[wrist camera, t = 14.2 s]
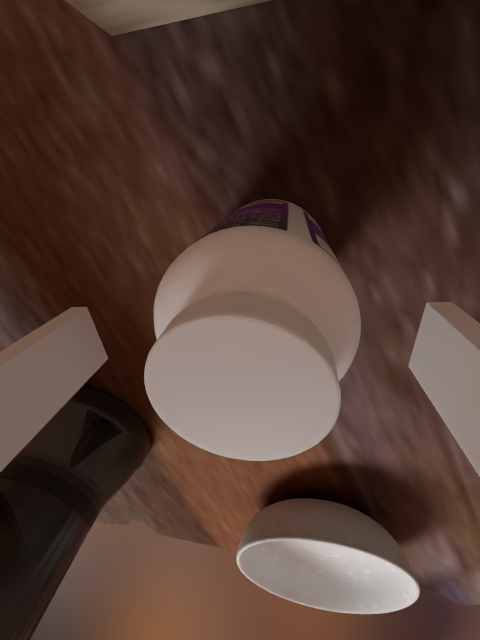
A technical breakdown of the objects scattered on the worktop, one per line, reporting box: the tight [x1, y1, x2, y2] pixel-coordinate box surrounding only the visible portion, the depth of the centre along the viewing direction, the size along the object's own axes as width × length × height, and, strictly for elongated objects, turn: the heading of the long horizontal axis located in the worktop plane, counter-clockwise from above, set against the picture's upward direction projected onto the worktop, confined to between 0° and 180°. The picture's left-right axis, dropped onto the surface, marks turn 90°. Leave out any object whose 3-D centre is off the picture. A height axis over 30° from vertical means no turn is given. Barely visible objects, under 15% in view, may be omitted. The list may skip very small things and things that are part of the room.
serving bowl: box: [237, 498, 420, 614], centre depth 34 cm, size 21×21×7 cm
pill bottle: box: [144, 199, 361, 461], centre depth 13 cm, size 8×8×14 cm
